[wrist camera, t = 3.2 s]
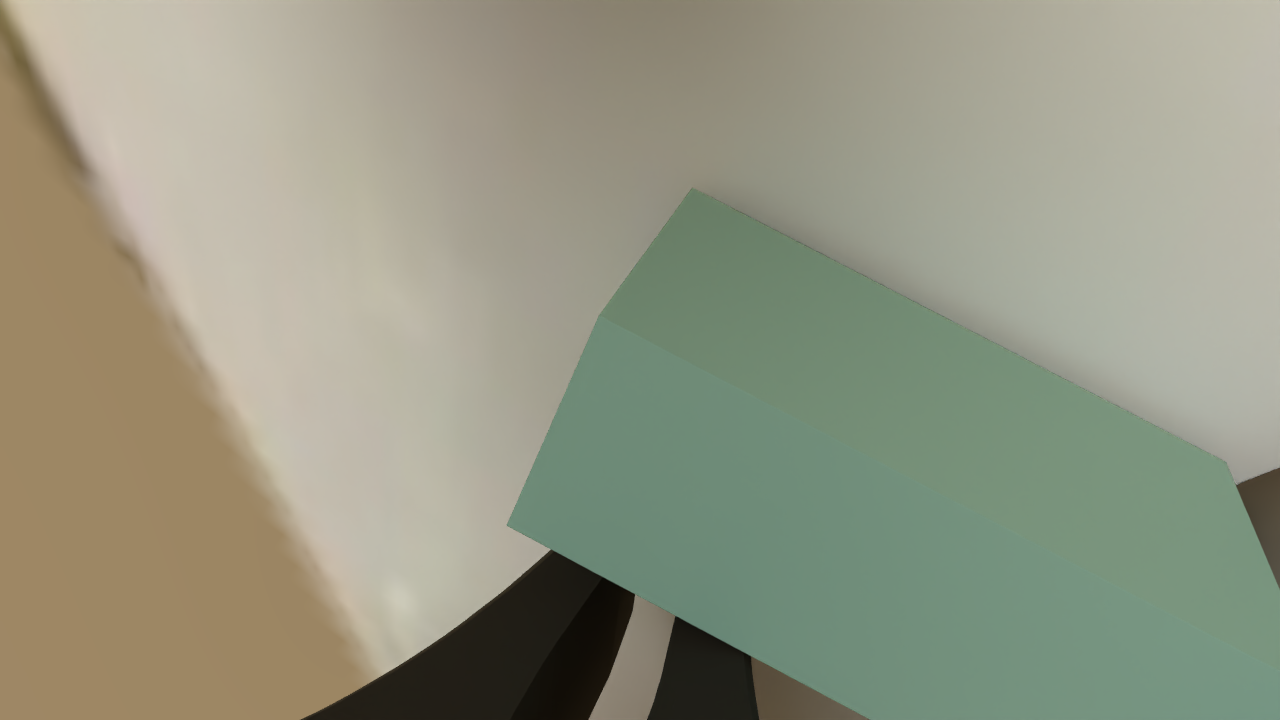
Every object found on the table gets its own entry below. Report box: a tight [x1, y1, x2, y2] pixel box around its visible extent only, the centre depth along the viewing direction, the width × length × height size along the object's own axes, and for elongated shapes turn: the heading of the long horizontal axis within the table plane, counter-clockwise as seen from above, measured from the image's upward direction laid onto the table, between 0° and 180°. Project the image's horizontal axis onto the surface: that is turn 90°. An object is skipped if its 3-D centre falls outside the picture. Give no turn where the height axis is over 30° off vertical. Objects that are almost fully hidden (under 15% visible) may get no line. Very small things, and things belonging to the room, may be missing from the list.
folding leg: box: [507, 188, 1280, 720], centre depth 10 cm, size 7×3×4 cm, turn 67°
